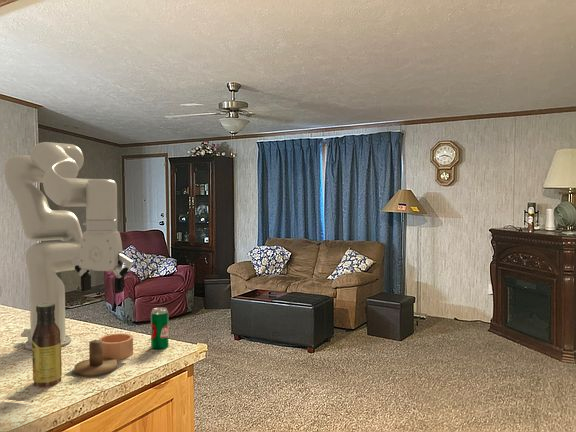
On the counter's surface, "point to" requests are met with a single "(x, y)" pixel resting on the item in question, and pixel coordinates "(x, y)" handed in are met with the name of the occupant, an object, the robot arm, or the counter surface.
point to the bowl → (117, 346)
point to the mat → (95, 376)
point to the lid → (95, 362)
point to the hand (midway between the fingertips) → (102, 291)
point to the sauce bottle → (46, 348)
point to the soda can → (159, 328)
